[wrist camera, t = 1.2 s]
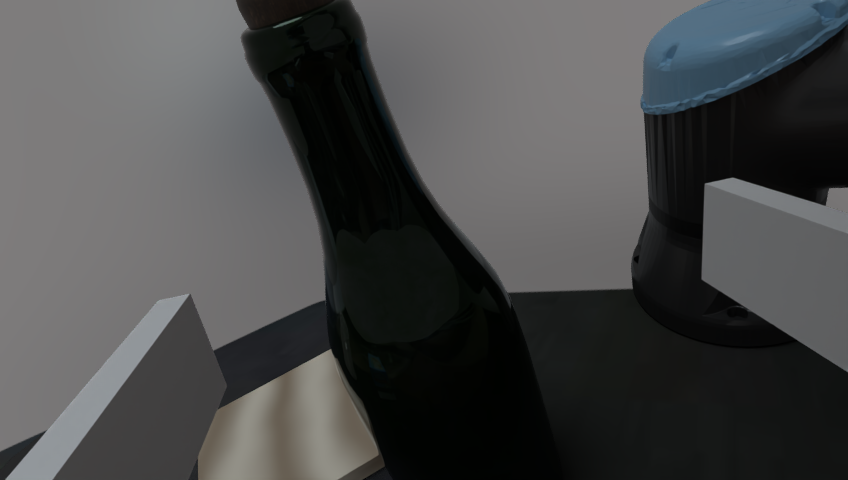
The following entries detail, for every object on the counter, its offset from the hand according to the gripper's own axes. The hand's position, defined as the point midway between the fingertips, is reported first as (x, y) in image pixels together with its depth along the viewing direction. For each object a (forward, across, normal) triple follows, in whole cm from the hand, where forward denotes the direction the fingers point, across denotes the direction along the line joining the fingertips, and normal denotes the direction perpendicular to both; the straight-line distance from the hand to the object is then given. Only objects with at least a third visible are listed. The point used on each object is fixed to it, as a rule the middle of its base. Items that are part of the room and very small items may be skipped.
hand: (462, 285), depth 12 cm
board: (+24, -14, -24) cm, 36 cm away
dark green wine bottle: (+14, +1, -23) cm, 27 cm away
